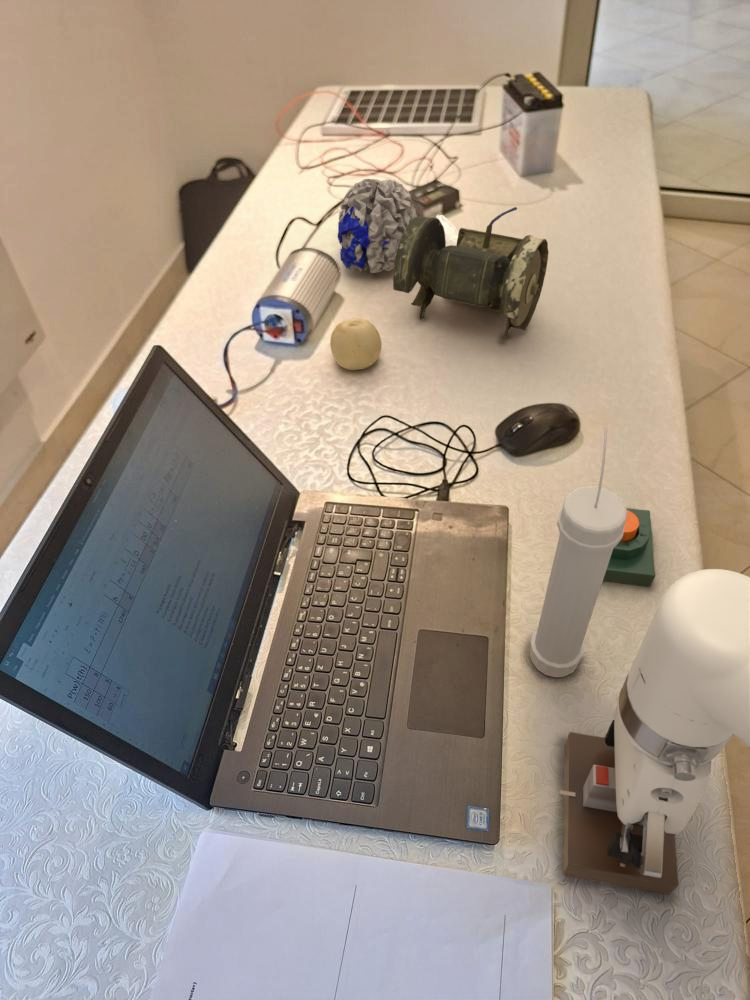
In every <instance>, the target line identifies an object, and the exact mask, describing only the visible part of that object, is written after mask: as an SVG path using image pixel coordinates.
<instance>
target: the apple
mask: <svg viewBox="0 0 750 1000" xmlns="http://www.w3.org/2000/svg"><path fill="white" fill-rule="evenodd" d="M329 342H330V343H329V344H330V345H329V346H330V351H331V354H332V356H333V358H334V360H335V361H336V363H337V364H338V365H339V366H341V367H342V368H344V369H346V370H349V371H358V370H364V369H367V368H370V367H371V366H372V365H374V363H376V362H377V360H378V359H379V357H380V354H381V351H382V339H381V335H380V333H379V330H378V329H377V327H376V326H375V325H374V324H373V323H372V322H371V321H370V320H369V319H366V318H350V319H347V320H346V319H345V320H343V321H342V322H340V323H338V324H337V325H336V326H335V327H334V328H333V330H332V332H331V335H330V341H329Z"/></svg>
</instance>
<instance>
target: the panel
mask: <svg viewBox="0 0 750 1000" xmlns="http://www.w3.org/2000/svg"><path fill="white" fill-rule="evenodd" d="M593 765H598V766H605V767H611V768H615V747H611V746H607V744H606V743H605V736H604V737H603V736H596V735H590V734H586V733H585V734H584V733H579V732H573V731H570V732H569V733H568V736H567V739H566V742H565V744H564V775H563V776H564V777H563V781H564V782H563V790H562V789H559V790H558V794H559V795H561V796H563V827H562V828H563V830H562V831H563V835H562V837H563V838H562V875H563V876H567V877H568V876H569V877H573V878H578V879H583V880H588V881H594V882H599V883H605V884H609V885H610V884H611V885H616V886H621V887H625V888H631V889H637V890H641V891H646V892H652V893H658V894H663V895H668V896H669V895H671V893H672V892H673V891H674V890H675V889H677V887H678V886H679V874H678V861H677V850H676V836H675V835H676V834H670V833H665V831H664V846H663V866H662V877H661V878H656V877H651V876H646V875H642V873H641V872H640V871H639V869H638V868H633V866H630V865H625V864H622V863H621V862H620V858H617V857H612V856H609V855H607V847H608V846H609V844H610V843H611V841H612V839H613V838H614V836H615V834H616V833H617V832H621V830H622V822H621V820H620V819H619V817H618V814H617V812H613V811H607V810H602V809H596V808H590V807H585V806H583V786H584V784H585V782H586V780H587V778H588V775H589V773H590V771H591V769H592V767H593ZM632 834H637V835H642V836H643V826H637V825H633V828H632Z"/></svg>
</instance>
